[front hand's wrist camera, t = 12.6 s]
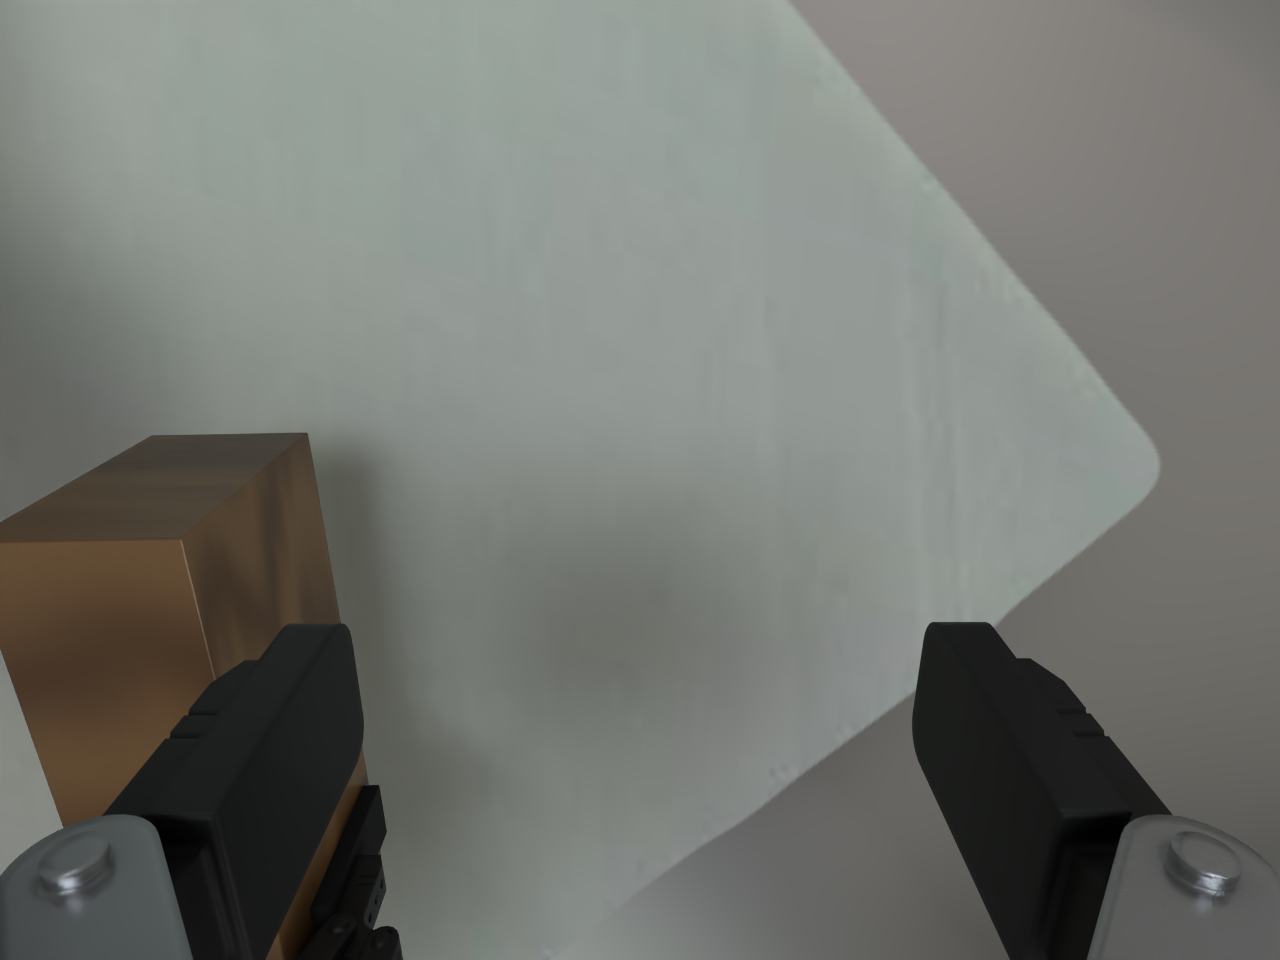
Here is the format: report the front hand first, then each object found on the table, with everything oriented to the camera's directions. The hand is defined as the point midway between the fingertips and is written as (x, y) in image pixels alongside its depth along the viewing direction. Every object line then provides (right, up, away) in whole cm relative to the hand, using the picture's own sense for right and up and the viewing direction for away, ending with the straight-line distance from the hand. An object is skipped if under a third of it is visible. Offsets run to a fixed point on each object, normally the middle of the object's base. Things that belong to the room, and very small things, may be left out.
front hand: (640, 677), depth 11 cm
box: (-16, -5, +24) cm, 29 cm away
